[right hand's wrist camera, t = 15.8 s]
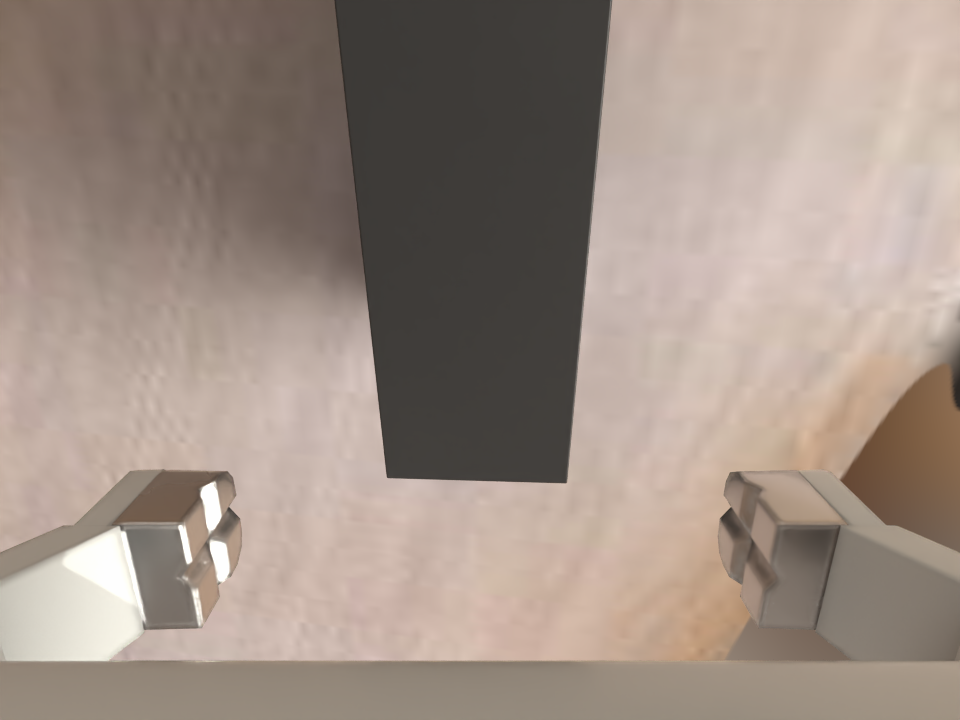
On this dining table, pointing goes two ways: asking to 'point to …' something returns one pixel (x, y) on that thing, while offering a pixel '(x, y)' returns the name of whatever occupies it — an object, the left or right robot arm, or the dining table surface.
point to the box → (475, 223)
